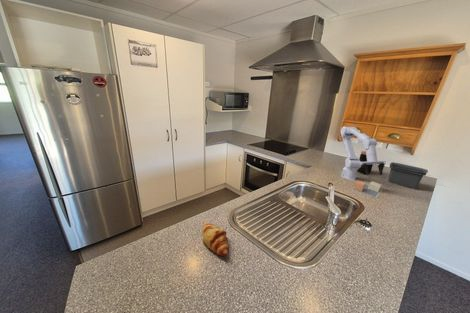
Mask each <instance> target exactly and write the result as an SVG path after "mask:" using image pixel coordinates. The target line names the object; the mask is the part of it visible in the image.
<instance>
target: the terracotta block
mask: <svg viewBox="0 0 470 313" xmlns="http://www.w3.org/2000/svg"><path fill="white" fill-rule="evenodd" d="M365 184H367V183H366V182H363V181H360V180H357V181H355V183H354V186H353V187H354V189H355V190H358V191H361V192H362V191H363V190H364V187H365Z"/></svg>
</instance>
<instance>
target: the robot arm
mask: <svg viewBox="0 0 470 313" xmlns="http://www.w3.org/2000/svg"><path fill="white" fill-rule="evenodd" d="M340 135H341V136H340V137H341V138H342V143H343V146H344V149H345V154H346V156H347V157H346V159H344V162H345V163H344V165H345V166H344V167H343V169H342V171H341V175H340V178H344V179H347V180H349V181H352V182H353V181H355V180H356V179H357V173H358V172H357V170H358V169H359V168H360V167H361V165H362V168H363V169H364V170H365V172H366V174H365V175H366V176H369V175H370V174H369V172H368V165H371V163H373V164H374V165H377V168H378V173H379V174H378V175H380V176H382V175H383V172H384V168H385V165H386V164H387V162H386V160H378V155H377V149H376V146H377V145H378V141H377V140H376V138H371V136H368V135H367V133H361V131H359V130H358V128H357V127H356V126H342V127H341V128H340ZM354 136H355V137H356V138H357V140H358V141H359V142H361V143H362V147H364V148H363V149H364V150H365V151H366V156H367V162H361V161H360V160H359V158H360V157H358V156H356V154H355V150H354V147H353V146H354V145H353V144H352V143H353V142H352V141H351V139H353V137H354Z"/></svg>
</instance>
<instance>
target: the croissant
mask: <svg viewBox="0 0 470 313" xmlns="http://www.w3.org/2000/svg"><path fill="white" fill-rule="evenodd" d="M201 232H202V243H204V244H206V247H207V248H208V249H209V248H210V249H209V250H211V251H213V252H214V253H216V254H217V255H219V256H222V257H227V256H228V255H229V251H228V249H229V243H228V237H227V231H226V230H225V229H224V228H221V227H220V226H218V225H214V224H212V223H209V222H207V221H206V222H205V223H204V225H203V228H202V231H201Z"/></svg>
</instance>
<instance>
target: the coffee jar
mask: <svg viewBox="0 0 470 313" xmlns="http://www.w3.org/2000/svg"><path fill="white" fill-rule="evenodd" d="M358 158H359V160H360V161H361V162H367V156H366V150H365V151H364V150H363V151H361V152H360V156H359V157H358ZM373 166H374V163H371V165H368V172H369V175H370V174H371V173H372V169H373ZM357 173H360V174H362V175H366V172H365V170H364V169H363V168H362V165H361V167H360V168H359V169H358V170H357Z"/></svg>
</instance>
